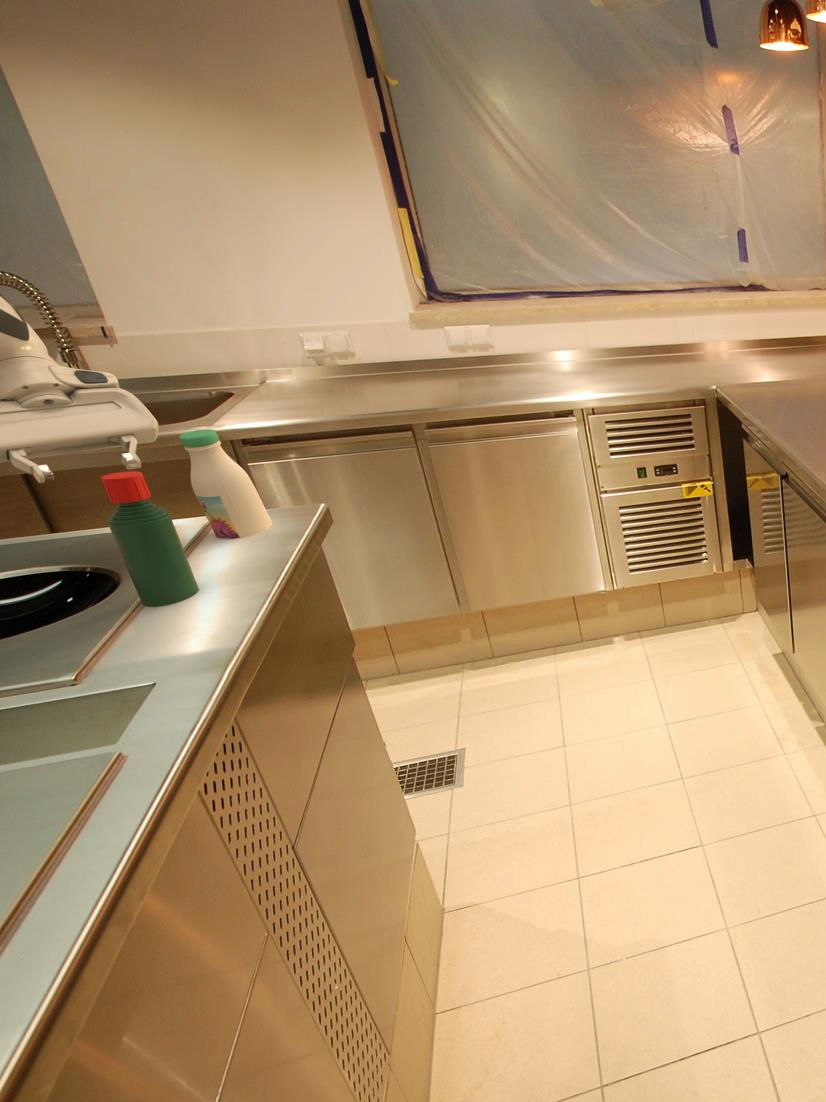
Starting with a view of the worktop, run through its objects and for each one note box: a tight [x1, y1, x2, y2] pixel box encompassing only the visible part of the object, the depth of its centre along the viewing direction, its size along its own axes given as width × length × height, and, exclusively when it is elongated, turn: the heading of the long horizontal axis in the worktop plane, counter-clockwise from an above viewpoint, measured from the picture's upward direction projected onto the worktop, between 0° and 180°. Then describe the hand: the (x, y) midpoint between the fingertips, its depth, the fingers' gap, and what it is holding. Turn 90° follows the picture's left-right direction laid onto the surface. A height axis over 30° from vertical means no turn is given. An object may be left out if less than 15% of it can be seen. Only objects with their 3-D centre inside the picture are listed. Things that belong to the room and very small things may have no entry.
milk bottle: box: [179, 429, 273, 540], centre depth 137 cm, size 8×8×20 cm
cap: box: [100, 471, 152, 504], centre depth 114 cm, size 4×4×3 cm
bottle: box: [107, 499, 200, 608], centre depth 117 cm, size 6×6×18 cm
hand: (92, 472), depth 118 cm, fingers open, 8 cm apart
